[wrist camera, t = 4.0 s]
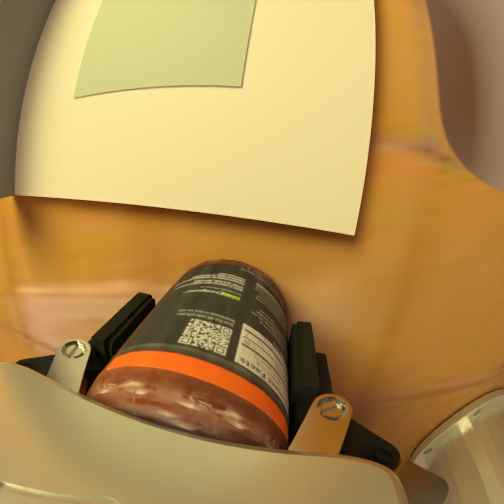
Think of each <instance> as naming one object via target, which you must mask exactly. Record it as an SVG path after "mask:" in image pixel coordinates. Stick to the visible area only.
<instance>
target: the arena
mask: <svg viewBox="0 0 504 504" xmlns="http://www.w3.org/2000/svg"><path fill="white" fill-rule="evenodd" d="M374 83H375V8H374V0H0V198H4V197H9V196H13V195H22V196H39V197H53V198H67V199H80V200H91V201H103V202H113V203H123V204H133V205H143V206H152V207H161V208H170V209H178V210H187V211H195V212H203V213H211V214H218V215H226V216H233V217H240V218H247V219H254V220H261V221H268V222H275V223H281V224H288V225H294V226H301V227H307V228H313V229H319V230H325V231H331V232H337V233H343V234H349V235H355V230H356V225H357V220H358V215H359V209H360V204H361V198H362V192H363V186H364V180H365V173H366V166H367V159H368V151H369V143H370V134H371V124H372V113H373V100H374Z"/></svg>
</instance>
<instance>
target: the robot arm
mask: <svg viewBox="0 0 504 504" xmlns="http://www.w3.org/2000/svg"><path fill="white" fill-rule="evenodd" d="M154 307H155V299H153V298H152V296H151V295H150V294H145V293H141V292H139V293H138V294H136V295H135V296H134V297H133V298H132V299H131V300H130V301H129V302H128V303H127V304H126V305H125V306H124V307H122V308H121V309H120V310H119V311H118V312H117V313H116V314H115V315H114V316H113V317H112V318H111V319H110V320H109V321H108V322H107V323H106V324H105V325H104V326H103V327H102V328H100V329H99V330H98V331H97V332H96V333H95V334H94V335H93V336H92V337H91V340H90V341H89V342H86V341H84V340H82V339H70V340H67V341H65V342H63V343H62V344H61V345H60V346H59V348H58V350H57V353H56V355H50V356H43V357H36V358H29V359H23V360H19V361H17V362H16V363H11V362H4V361H0V504H504V389H499V390H495V391H493V392H490V393H488V394H486V395H484V396H482V397H480V398H478V399H477V400H475V401H473V402H472V403H470V404H469V405H467V406H465V407H464V408H463V409H461V410H460V411H458V412H457V413H455V414H454V415H453V416H452V417H450V418H449V419H448V420H446V421H445V422H444V423H442V424H441V425H440V426H439V427H438V428H436V429H435V430H434V431H433V432H432V433H431V434H430V435H429V436H428V437H426V438H425V439H424V440H423V442H422V443H421V444H420V445H419V446H418V447H417V449H416V450H415V451H414V453H413V454H412V457H411V459H410V460H408V459H407V460H406V461H403V460H401V459H400V454H399V452H398V450H397V449H396V448H395V447H394V446H393V445H392V444H390V443H388V442H387V441H385V440H384V439H382V438H380V437H379V436H377V435H376V434H374V433H372V432H371V431H369V430H368V429H366V428H365V427H363V426H362V425H360V424H359V423H357V422H356V421H354V420H353V419H351V416H352V407H351V405H350V403H349V402H348V401H347V400H346V399H344V398H343V397H341V396H338V395H334V394H332V388H331V382H330V376H329V370H328V365H327V359H326V355H325V354H323V353H315V346H314V339H313V332H312V326H311V323H309V322H301V321H298V323H297V324H293V325H292V328H291V332H290V337H289V341H288V372H289V376H288V379H289V428H288V446H289V449H288V450H283V449H274V448H266V447H258V446H251V445H244V444H238V443H232V442H227V441H222V440H217V439H212V438H207V437H203V436H199V435H195V434H191V433H187V432H183V431H179V430H176V429H172V428H169V427H165V426H162V425H159V424H155V423H152V422H149V421H146V420H143V419H140V418H138V417H135V416H132V415H129V414H127V413H124V412H121V411H119V410H116V409H114V408H111V407H109V406H106V405H104V404H102V403H99V402H97V401H95V400H93V399H90V398H88V397H86V395H87V393H88V391H89V389H90V387H91V386H92V384H93V383H94V381H95V380H96V378H97V377H98V375H99V374H100V373H101V372H102V371H103V369H104V368H105V367H106V365H107V364H108V363H109V362H110V360H111V359H112V358H113V357H114V356H115V354H116V353H117V352H118V350H119V349H120V348H121V347H122V346H123V344H124V343H125V342H126V341H127V339H128V338H129V337H130V336H131V335H132V333H133V332H134V331H135V330H136V329H137V327H138V326H139V325H140V324H141V323H142V322H143V320H144V319H145V318H146V317H147V316H148V314H149V313H150V312H151V311H152V310H153V308H154Z"/></svg>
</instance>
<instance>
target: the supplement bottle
mask: <svg viewBox="0 0 504 504" xmlns="http://www.w3.org/2000/svg"><path fill="white" fill-rule="evenodd" d="M288 376H289V372H288V331H287V313H286V307H285V303H284V300H283V297H282V295H281V293H280V291H279V290H278V288H277V287H276V285H275V284H274V283H273V282H272V280H271V279H270V278H269V277H268V276H267V275H265V274H264V273H263V272H261V271H260V270H258V269H256V268H254V267H252V266H250V265H248V264H245V263H243V262H239V261H234V260H223V259H221V260H211V261H207V262H204V263H201V264H199V265H197V266H195V267H193V268H191V269H190V270H188V271H187V272H186V273H185V274H184V275H183V276H182V277H181V278H180V279H179V280H178V281H177V282H176V283H175V284H174V285H173V286H172V287H171V289H170V290H169V291H168V292H167V293H166V294H165V296H164V297H163V298H162V299H161V300H160V301H159V302H158V304H157V305H156V306H155V307H154V308H153V310H152V311H151V312H150V313H149V314H148V316H147V317H146V318H145V319H144V320H143V322H142V323H141V324H140V325H139V326H138V327H137V329H136V330H135V331H134V332H133V333H132V335H131V336H130V337H129V338H128V339H127V341H126V342H125V343H124V344H123V346H122V347H121V348H120V349H119V350H118V352H117V353H116V354H115V356H114V357H113V358H112V359H111V360H110V362H109V363H108V364H107V365H106V367H105V368H104V369H103V371H102V372H101V373H100V374H99V375H98V377H97V378H96V380H95V381H94V383H93V384H92V386H91V387H90V389H89V391H88V393H87V395H86V397H88V398H90V399H93V400H95V401H97V402H99V403H102V404H104V405H106V406H109V407H111V408H114V409H116V410H119V411H121V412H124V413H127V414H129V415H132V416H135V417H138V418H140V419H143V420H146V421H149V422H152V423H155V424H159V425H162V426H165V427H169V428H172V429H176V430H179V431H183V432H187V433H191V434H195V435H199V436H203V437H207V438H212V439H217V440H222V441H227V442H232V443H238V444H244V445H251V446H258V447H266V448H274V449H283V450H288V428H289V379H288Z"/></svg>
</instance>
